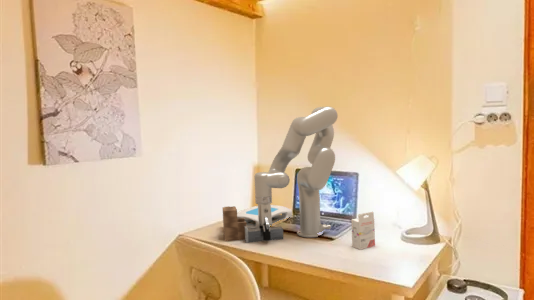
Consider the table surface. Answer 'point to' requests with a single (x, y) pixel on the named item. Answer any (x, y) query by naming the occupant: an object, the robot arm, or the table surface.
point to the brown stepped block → (233, 225)
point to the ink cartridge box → (363, 231)
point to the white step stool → (253, 215)
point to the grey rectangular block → (257, 234)
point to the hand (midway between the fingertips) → (264, 236)
